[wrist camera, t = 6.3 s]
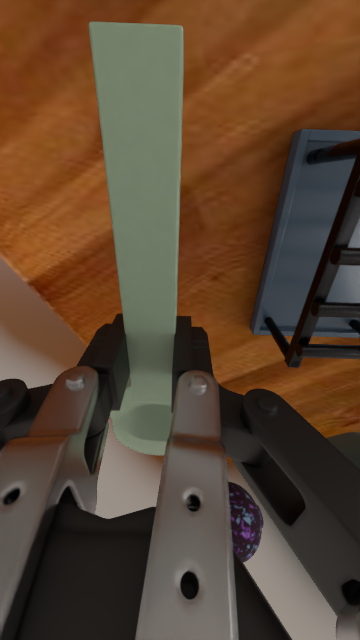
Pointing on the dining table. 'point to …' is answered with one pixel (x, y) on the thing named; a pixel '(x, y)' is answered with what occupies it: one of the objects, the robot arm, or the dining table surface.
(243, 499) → the lollipop
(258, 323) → the rack
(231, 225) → the dining table surface
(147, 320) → the spoon
